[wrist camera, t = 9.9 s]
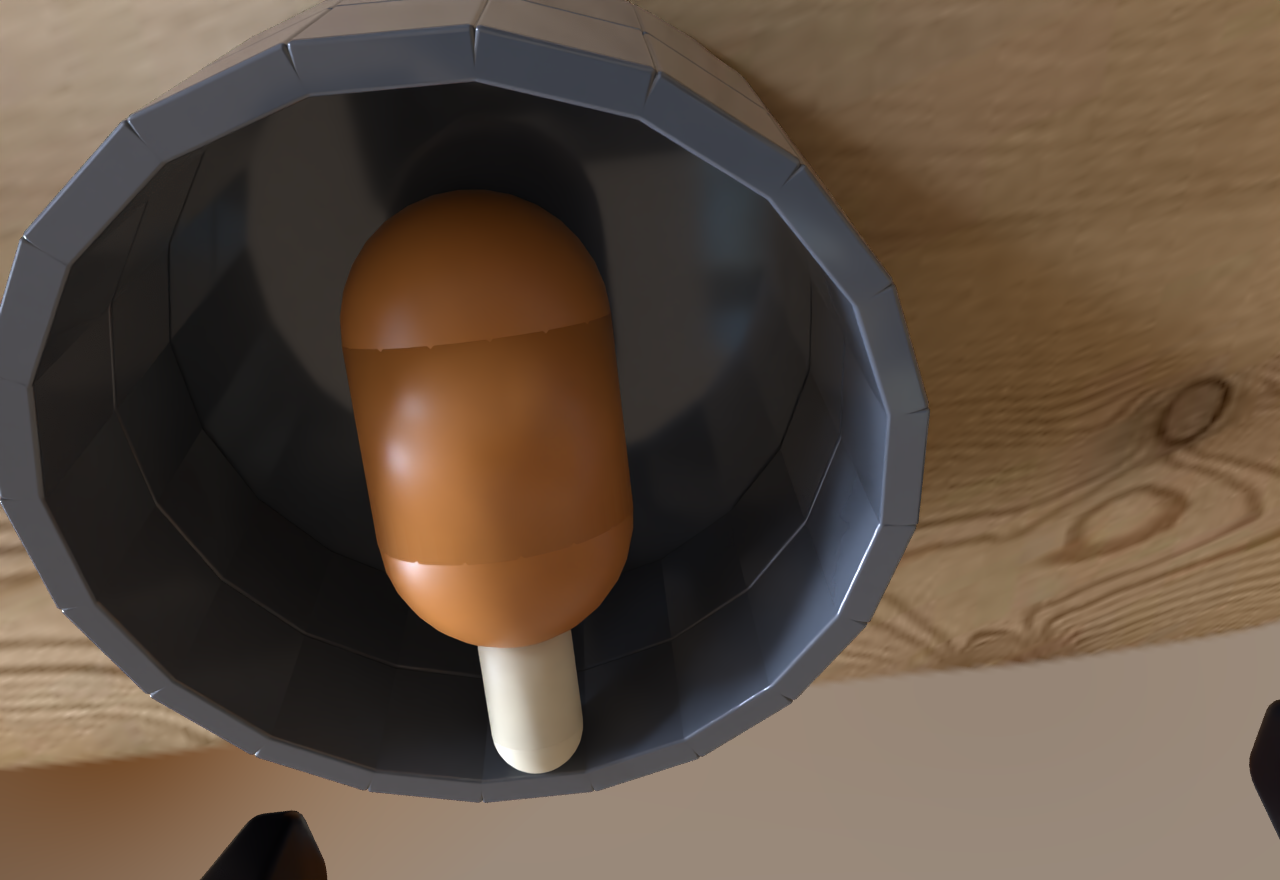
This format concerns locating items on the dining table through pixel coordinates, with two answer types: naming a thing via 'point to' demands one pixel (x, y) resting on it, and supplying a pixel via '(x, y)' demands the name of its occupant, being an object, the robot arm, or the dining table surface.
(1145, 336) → the dining table surface
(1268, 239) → the dining table surface
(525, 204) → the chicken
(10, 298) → the bowl
